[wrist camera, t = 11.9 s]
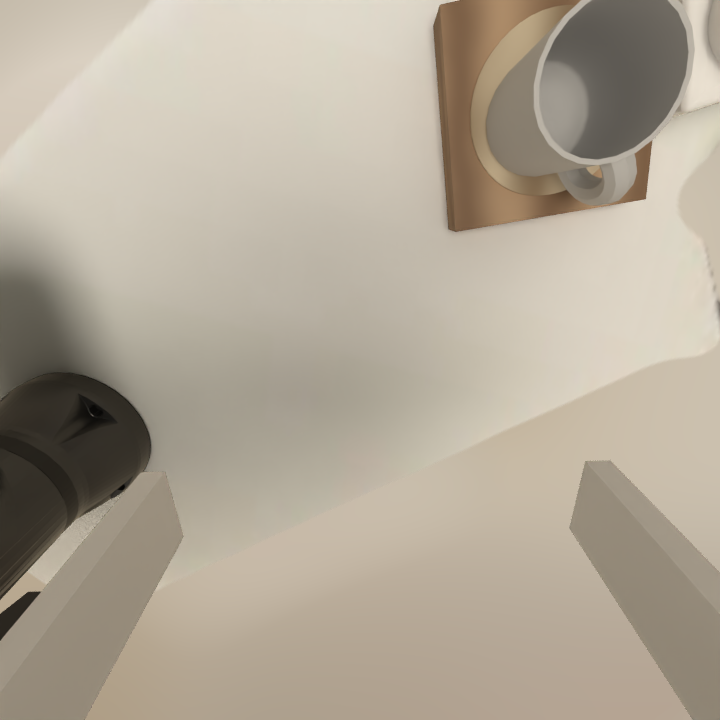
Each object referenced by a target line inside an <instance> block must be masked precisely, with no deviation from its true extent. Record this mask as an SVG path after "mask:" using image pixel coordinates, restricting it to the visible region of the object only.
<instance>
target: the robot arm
mask: <svg viewBox="0 0 720 720" xmlns="http://www.w3.org/2000/svg"><path fill="white" fill-rule="evenodd" d="M149 456H150V441H149V436H148V433H147V430H146V427H145V425H144V423H143V421H142V420H141V418H140V416H139V415H138V413H137V412H136V411H135V410H134V408H133V407H132V406H131V405H130V404H129V403H128V402H127V401H126V400H125V399H124V398H123V397H122V396H120V395H119V394H118V393H116V392H115V391H114V390H112V389H111V388H109V387H107V386H106V385H104V384H102V383H100V382H98V381H95V380H93V379H90V378H87V377H84V376H80V375H76V374H70V373H51V374H45V375H41V376H38V377H36V378H34V379H32V380H30V381H28V382H26V383H24V384H22V385H20V386H18V387H16V388H15V389H13V390H12V391H10V392H9V393H8V394H7V395H5V396H4V397H3V399H2V400H1V401H0V600H1V598H2V597H3V596H4V595H5V594H6V593H7V592H8V591H9V590H10V589H11V588H12V587H13V586H14V585H15V583H16V582H17V581H18V580H19V579H20V578H21V577H22V576H23V575H24V574H25V573H26V572H27V571H28V570H29V568H30V567H31V566H32V565H33V564H34V563H35V562H36V561H37V560H38V559H39V558H40V557H41V556H42V554H43V553H44V552H45V551H46V550H47V549H48V548H49V547H50V546H51V545H52V544H53V543H54V542H55V541H56V539H57V538H58V537H59V536H60V535H61V534H62V533H63V532H64V531H65V530H66V529H67V528H68V527H69V526H70V525H71V524H72V523H73V522H74V521H75V520H76V519H78V518H79V517H81V516H83V515H84V514H86V513H88V512H90V511H91V510H93V509H95V508H97V507H98V506H100V505H102V504H104V503H105V502H107V501H108V500H110V499H112V498H114V497H116V496H117V495H119V494H121V493H122V492H124V491H125V490H126V489H127V490H126V491H125V492H124V493H123V494H122V496H121V497H120V498H119V499H118V500H117V502H116V503H115V504H114V505H113V506H112V508H111V509H110V510H109V511H108V512H107V513H106V515H105V516H104V517H103V518H102V519H101V521H100V522H99V523H98V524H97V525H96V527H95V528H94V529H93V530H92V531H91V533H90V534H89V535H88V536H87V537H86V539H85V540H84V541H83V542H82V543H81V545H80V546H79V547H78V548H77V549H76V551H75V552H74V553H73V554H72V555H71V557H70V558H69V559H68V560H67V561H66V563H65V564H64V565H63V566H62V567H61V569H60V570H59V571H58V572H57V573H56V575H55V576H54V577H53V578H52V579H51V581H50V582H49V583H48V584H47V585H46V587H45V588H44V589H43V590H42V591H41V592H27V593H26V594H25V595H24V596H22V597H21V598H20V599H19V600H17V601H16V602H15V603H14V604H12V605H11V606H10V607H8V608H7V609H6V610H5V611H3V612H2V613H1V614H0V720H85V718H86V716H87V714H88V712H89V711H90V709H91V707H92V705H93V703H94V701H95V700H96V698H97V696H98V694H99V692H100V690H101V688H102V686H103V685H104V683H105V681H106V679H107V677H108V675H109V674H110V672H111V670H112V668H113V666H114V664H115V663H116V661H117V659H118V657H119V655H120V653H121V652H122V650H123V648H124V646H125V644H126V642H127V640H128V639H129V636H130V635H131V633H132V631H133V629H134V627H135V626H136V624H137V622H138V620H139V618H140V616H141V614H142V613H143V611H144V609H145V607H146V605H147V603H148V602H149V600H150V598H151V596H152V594H153V592H154V591H155V589H156V587H157V585H158V583H159V581H160V579H161V578H162V576H163V574H164V572H165V570H166V568H167V567H168V565H169V563H170V561H171V559H172V557H173V555H174V554H175V552H176V550H177V548H178V546H179V544H180V543H181V541H182V539H183V537H184V536H183V532H182V529H181V525H180V522H179V519H178V515H177V512H176V508H175V505H174V501H173V498H172V494H171V491H170V487H169V484H168V480H167V477H166V473H165V472H143V471H144V469H145V467H146V465H147V463H148V460H149ZM570 530H571V532H572V533H573V535H574V536H575V538H576V539H577V541H578V542H579V544H580V546H581V547H582V549H583V550H584V552H585V553H586V555H587V556H588V558H589V560H590V561H591V563H592V564H593V566H594V567H595V569H596V570H597V572H598V573H599V575H600V577H601V578H602V580H603V581H604V583H605V584H606V586H607V587H608V589H609V591H610V592H611V594H612V595H613V597H614V598H615V600H616V601H617V603H618V605H619V606H620V608H621V609H622V611H623V612H624V614H625V615H626V617H627V619H628V620H629V622H630V623H631V625H632V626H633V628H634V629H635V631H636V632H637V634H638V636H639V637H640V639H641V640H642V642H643V643H644V645H645V646H646V648H647V650H648V651H649V653H650V654H651V656H652V657H653V659H654V660H655V662H656V664H657V665H658V667H659V668H660V670H661V671H662V673H663V674H664V676H665V678H666V679H667V681H668V682H669V684H670V685H671V687H672V688H673V690H674V691H675V693H676V695H677V696H678V698H679V699H680V701H681V702H682V704H683V705H684V707H685V709H686V710H687V712H688V713H689V715H690V716H691V718H692V719H693V720H720V572H719V571H718V570H717V569H716V568H715V567H714V566H713V565H712V564H711V563H710V562H709V561H708V560H707V559H706V558H705V557H704V556H703V555H702V554H701V553H700V552H699V551H698V550H697V549H696V548H695V547H694V546H693V544H692V543H691V542H690V541H689V540H688V539H687V538H685V536H684V535H683V534H682V533H681V532H680V531H679V530H678V529H677V528H676V527H675V526H674V525H673V524H672V523H671V522H670V521H669V520H668V519H667V518H666V517H665V516H664V515H663V514H662V513H661V512H660V511H659V510H658V509H657V508H656V507H655V506H654V505H653V504H652V503H651V502H650V501H649V500H648V499H647V497H646V496H644V495H643V493H642V492H641V491H640V490H639V489H638V488H637V487H636V486H635V485H634V484H633V483H632V482H631V481H630V480H629V479H628V478H627V477H626V476H625V475H624V474H623V473H622V472H621V471H620V470H619V469H618V468H617V467H616V466H615V465H614V464H613V463H612V462H611V461H586V462H585V465H584V469H583V473H582V478H581V481H580V486H579V490H578V494H577V498H576V503H575V507H574V511H573V515H572V519H571V524H570Z"/></svg>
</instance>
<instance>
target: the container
mask: <svg viewBox="0 0 720 720" xmlns="http://www.w3.org/2000/svg"><path fill="white" fill-rule="evenodd" d="M678 1H679V2H680V3H681V4H682V5H683V6H684V8H685V11H686V13H687V15H688V18H689V20H690V22H691V25H692V29H693V38H694V47H695V53H694V60H693V68H692V75H691V78H690V81H689V84H688V86H687V89H686V92H685V95H684V98H683V100H682V101H681V103H680V105H679V107H678V108H677V110H676V112H675V113H674V115H673V117H675V116H679V115H682V114H686V113H689V112H692V111H695V110H698V109H701V108H704V107H707V106H710V105H713V104H716V103H719V102H720V0H678Z"/></svg>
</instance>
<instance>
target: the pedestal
mask: <svg viewBox="0 0 720 720" xmlns="http://www.w3.org/2000/svg"><path fill="white" fill-rule="evenodd" d="M580 1H581V0H459V1H455V2H450V3H446V4H442V5H440V6H439V10H438V13H437V16H436V19H435V22H434V25H433V27H434V41H435V54H436V67H437V81H438V94H439V107H440V121H441V134H442V147H443V160H444V174H445V187H446V200H447V214H448V227H449V230H452V231H455V232H457V231H463V230H469V229H474V228H480V227H486V226H492V225H498V224H503V223H509V222H515V221H521V220H527V219H533V218H538V217H544V216H550V215H556V214H562V213H568V212H573V211H579V210H585V209H591V208H597V207H602V206H608V205H614V204H620V203H626V202H632V201H637V200H643V199H646V192H647V183H648V174H649V165H650V156H651V146H652V141H650V142H649V143H648V144H646V145H645V146H644V147H643V148H641V149H640V150H639V151H637V152H636V153H634V154H635V158H636V166H637V174H636V178H635V181H634V184H633V185H632V187H631V188H630V189H629V190H628V191H627V193H626V194H625V195H624V196H623V197H622V198H621V199H620V200H619V201H616V202H613V203H611V204H605V205H600V206H591V205H587V204H584V203H582V202H580V201H578V200H577V199H575V198H574V197H573V196H572V195H571V194H570V193H569V192H568V191H567V190H566V188H565V187H564V185H563V183H562V182H561V180H560V177H559V175H558V173H553V174H547V175H542V176H536V177H532V176H522V175H517V174H515V173H513V172H510V171H508V170H507V169H505V168H504V167H503V166H502V165H501V164H500V163H499V162H498V161H497V160H496V158H495V157H494V155H493V153H492V152H491V150H490V146H489V143H488V139H487V130H486V120H487V115H488V109H489V105H490V103H491V100H492V98H493V95H494V93H495V91H496V89H497V88H498V86H499V85H500V83H501V82H502V81H503V79H504V78H505V76H506V75H507V74H508V72H509V71H510V70H511V69H512V68H513V67H514V66H515V65H516V64H517V63H518V62H519V61H520V60H521V59H522V58H523V57H524V56H525V55H526V54H527V53H528V52H529V51H530V50H531V49H532V48H533V47H534V46H535V45H536V44H537V43H538V42H539V41H540V40H541V39H542V38H543V37H544V36H545V35H546V34H547V33H548V32H549V31H550V30H551V29H552V28H553V27H554V26H555V25H556V24H557V23H558V22H559V21H560V20H561V19H562V18H563V17H564V16H565V15H566V14H567V13H568V12H569V11H570V10H571V9H572V8H573V7H574V6H576V5H577V4H578V3H579V2H580ZM586 169H587V170H588V172H589V173H591V174H592V175H594V176H596V177H599V178H602V172H601V169H600V166H599V165H596V166H591V167H586Z"/></svg>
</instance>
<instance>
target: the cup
mask: <svg viewBox="0 0 720 720" xmlns="http://www.w3.org/2000/svg"><path fill="white" fill-rule="evenodd" d="M694 53H695V47H694V38H693V29H692V25H691V22H690V20H689V18H688V15H687V13H686V11H685V8H684V6H683V5H682V4H681V3H680V2H679V1H678V0H581V1H580V2H579V3H578V4H577V5H576V6H574V7H573V8H572V9H571V10H570V11H569V12H568V13H567V14H566V15H565V16H564V17H563V18H562V19H561V20H560V21H559V22H558V23H557V24H556V25H555V26H554V27H553V28H552V29H551V30H550V31H549V32H548V33H547V34H546V35H545V36H544V37H543V38H542V39H541V40H540V41H539V42H538V43H537V44H536V45H535V46H534V47H533V48H532V49H531V50H530V51H529V52H528V53H527V54H526V55H525V56H524V57H523V58H522V59H521V60H520V61H519V62H518V63H517V64H516V65H515V66H514V67H513V68H512V69H511V70H510V71H509V72H508V74H507V75H506V76H505V78H504V79H503V81H502V82H501V83H500V85H499V86H498V88H497V89H496V91H495V93H494V95H493V98H492V100H491V103H490V105H489V109H488V115H487V120H486V130H487V139H488V143H489V146H490V150H491V152H492V153H493V155H494V157H495V158H496V160H497V161H498V162H499V163H500V164H501V165H502V166H503V167H504V168H505V169H507V170H508V171H510V172H513V173H515V174H517V175H522V176H532V177H536V176H542V175H547V174H553V173H558V175H559V177H560V180H561V182H562V183H563V185H564V187H565V188H566V190H567V191H568V192H569V193H570V194H571V195H572V196H573V197H574V198H575V199H577V200H578V201H580V202H582V203H584V204H587V205H591V206H600V205H605V204H611V203H613V202H616V201H619V200H620V199H621V198H622V197H623V196H624V195H625V194H626V193H627V191H628V190H629V189H630V188H631V187H632V185H633V184H634V181H635V178H636V174H637V166H636V158H635V154H634V153H636V152H637V151H639V150H640V149H641V148H643V147H644V146H645V145H646V144H648V143H649V142H650V141H652V140H653V139H654V138H655V137H656V136H657V135H658V134H659V133H660V131H661V130H662V129H663V128H664V127H665V126H666V125H667V124H668V122H669V121H670V120H671V118H672V117H673V115H674V113H675V112H676V110H677V108H678V107H679V105H680V103H681V101H682V100H683V98H684V95H685V92H686V89H687V86H688V84H689V81H690V78H691V75H692V68H693V60H694ZM596 165H599V166H600V169H601V172H602V178H599V177H596V176H594V175H592V174H591V173H589V172H588V170H587V169H586V167H591V166H596Z"/></svg>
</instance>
